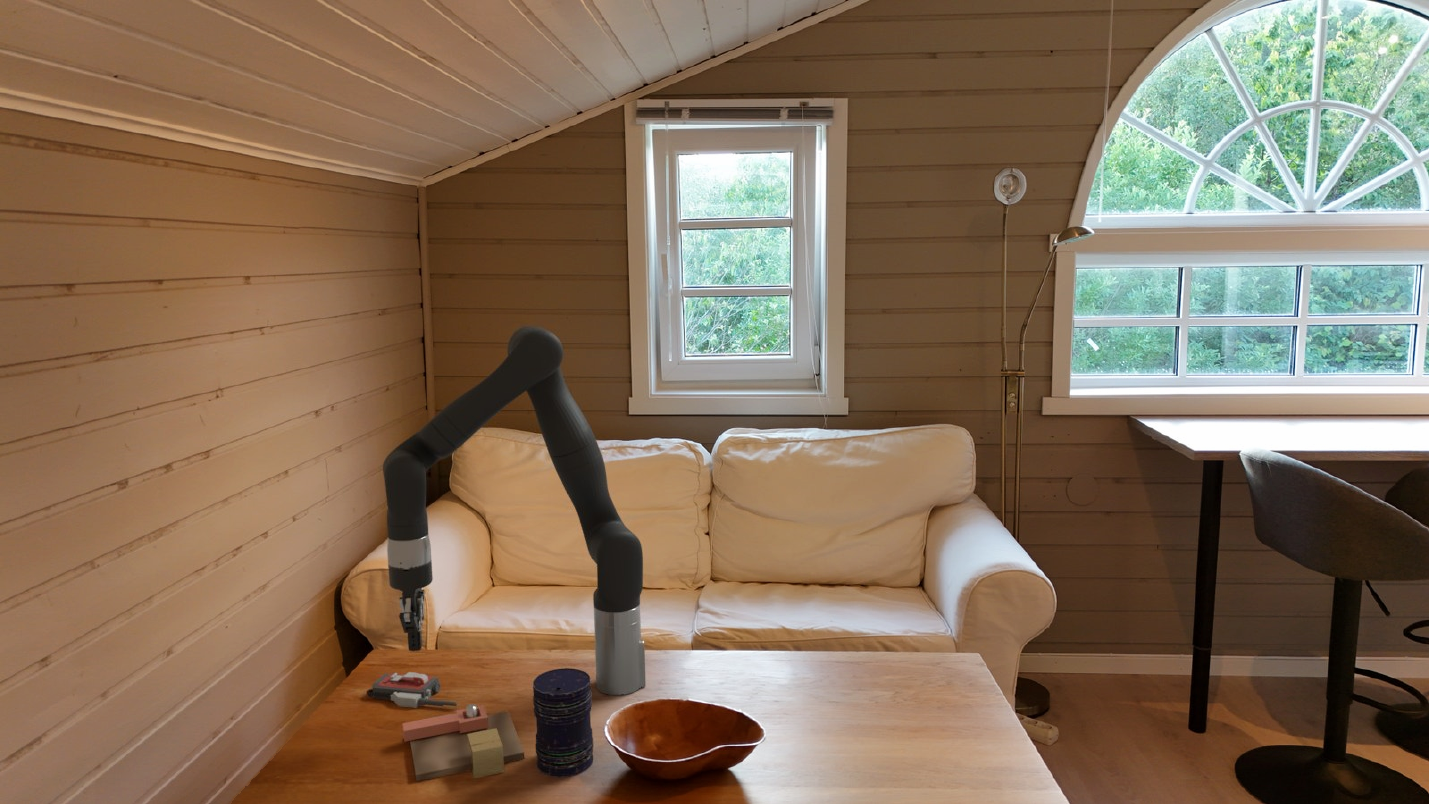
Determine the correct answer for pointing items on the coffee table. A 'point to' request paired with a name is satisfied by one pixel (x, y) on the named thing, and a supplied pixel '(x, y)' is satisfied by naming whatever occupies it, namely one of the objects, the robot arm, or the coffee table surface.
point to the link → (445, 724)
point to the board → (461, 749)
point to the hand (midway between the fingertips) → (415, 649)
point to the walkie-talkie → (408, 689)
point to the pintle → (471, 711)
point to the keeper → (486, 753)
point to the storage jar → (563, 722)
